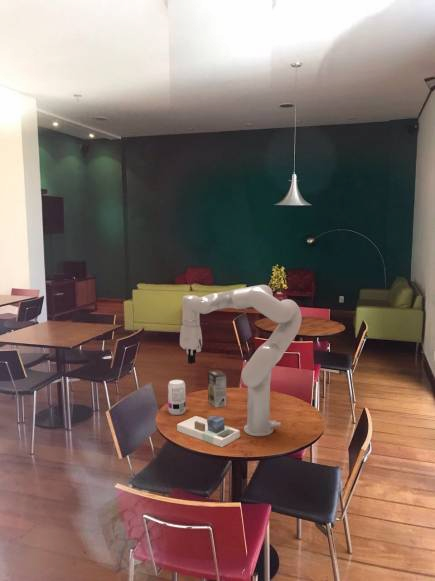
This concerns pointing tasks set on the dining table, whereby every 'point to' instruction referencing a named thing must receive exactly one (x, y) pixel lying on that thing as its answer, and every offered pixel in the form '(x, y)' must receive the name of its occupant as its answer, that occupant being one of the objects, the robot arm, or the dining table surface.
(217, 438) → the board
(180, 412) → the supplement can
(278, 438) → the dining table surface
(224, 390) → the coffee box
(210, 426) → the block
